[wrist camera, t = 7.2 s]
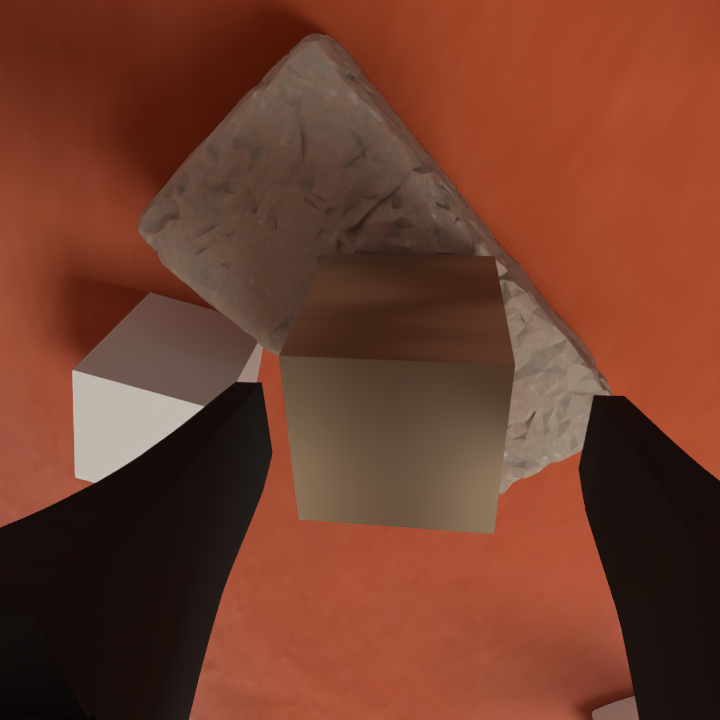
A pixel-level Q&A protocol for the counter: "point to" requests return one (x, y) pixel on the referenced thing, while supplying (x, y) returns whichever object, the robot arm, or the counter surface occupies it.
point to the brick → (351, 231)
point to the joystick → (617, 710)
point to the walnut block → (399, 392)
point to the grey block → (153, 379)
